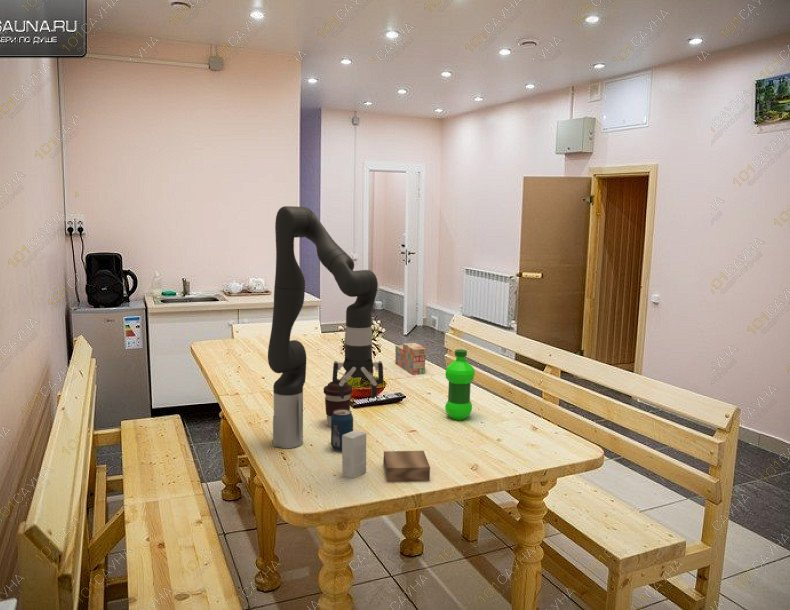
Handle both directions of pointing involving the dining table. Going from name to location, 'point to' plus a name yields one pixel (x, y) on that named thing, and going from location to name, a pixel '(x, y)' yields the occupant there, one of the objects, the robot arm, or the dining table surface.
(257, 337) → the dining table surface
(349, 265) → the robot arm
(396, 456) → the walnut base
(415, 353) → the printed snack box
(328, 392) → the coffee cup
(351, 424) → the soda can
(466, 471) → the dining table surface
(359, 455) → the skincare box
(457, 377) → the plastic bottle
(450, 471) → the dining table surface
